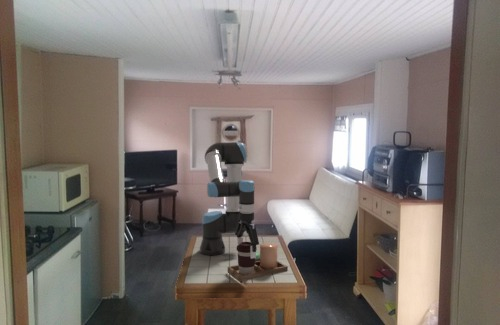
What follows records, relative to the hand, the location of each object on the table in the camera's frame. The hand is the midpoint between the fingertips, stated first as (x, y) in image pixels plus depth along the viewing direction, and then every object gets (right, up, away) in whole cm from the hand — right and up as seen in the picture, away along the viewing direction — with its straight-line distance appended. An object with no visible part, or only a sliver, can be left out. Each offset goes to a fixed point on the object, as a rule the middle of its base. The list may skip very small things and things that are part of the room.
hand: (246, 253), depth 191 cm
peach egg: (+11, -9, +7) cm, 16 cm away
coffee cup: (0, -10, +1) cm, 10 cm away
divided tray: (+6, -11, +4) cm, 13 cm away
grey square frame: (+5, -9, +17) cm, 20 cm away
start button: (+5, -7, +17) cm, 19 cm away
